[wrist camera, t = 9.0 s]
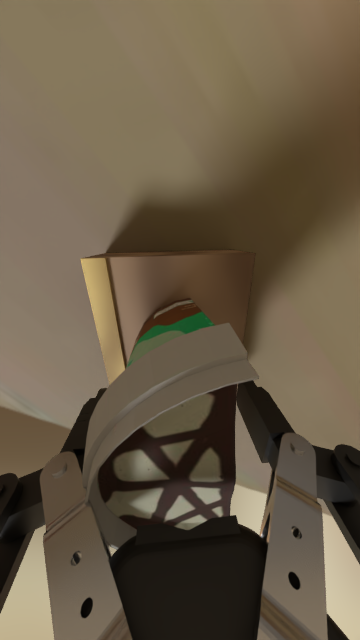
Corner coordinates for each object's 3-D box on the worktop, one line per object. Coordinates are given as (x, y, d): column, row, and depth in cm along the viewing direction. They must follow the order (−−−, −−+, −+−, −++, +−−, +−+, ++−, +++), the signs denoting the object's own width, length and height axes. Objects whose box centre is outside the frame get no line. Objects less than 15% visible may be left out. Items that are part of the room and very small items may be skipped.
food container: (102, 287, 13) (-24, 402, 4) (188, 278, 13) (261, 358, 4) (135, 411, 18) (115, 588, 9) (196, 400, 18) (238, 558, 9)
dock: (232, 249, 18) (257, 253, 13) (220, 379, 24) (234, 415, 19) (105, 253, 17) (80, 258, 12) (128, 385, 23) (118, 424, 19)
